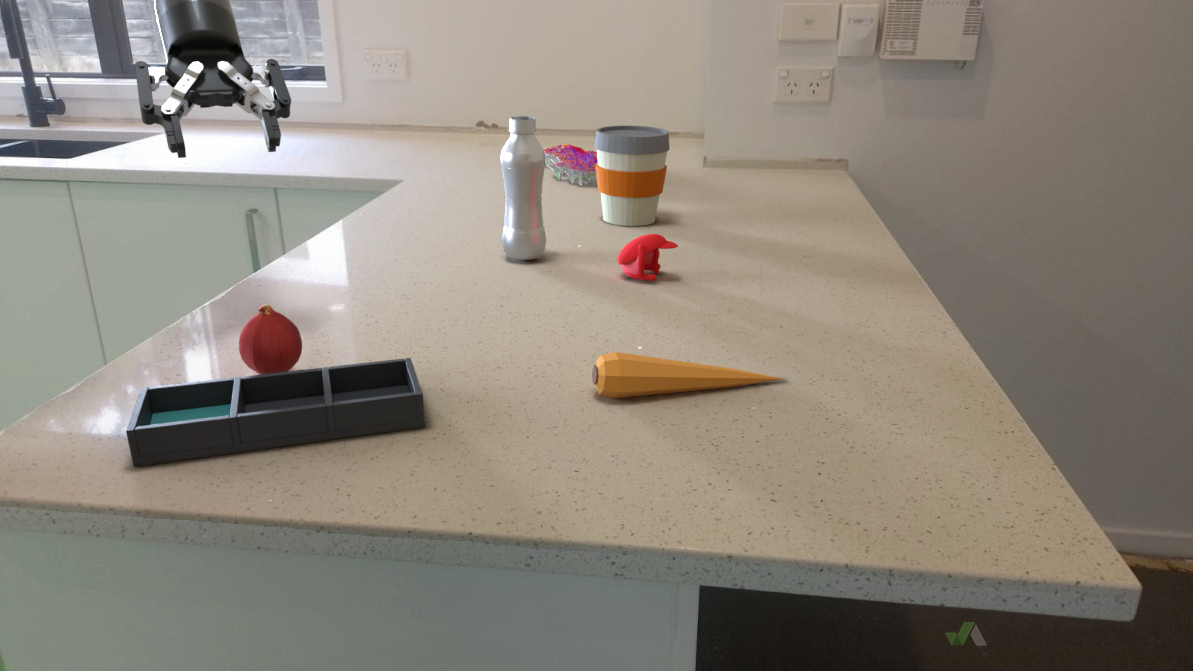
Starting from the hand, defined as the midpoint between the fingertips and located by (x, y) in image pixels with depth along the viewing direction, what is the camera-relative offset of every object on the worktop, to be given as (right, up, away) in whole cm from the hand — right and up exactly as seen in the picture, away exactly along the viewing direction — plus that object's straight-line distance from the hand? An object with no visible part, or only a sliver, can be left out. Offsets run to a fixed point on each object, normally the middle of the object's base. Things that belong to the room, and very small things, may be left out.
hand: (228, 150), depth 85 cm
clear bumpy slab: (+34, +16, +96) cm, 103 cm away
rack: (+9, -27, -10) cm, 30 cm away
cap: (+44, -11, +31) cm, 55 cm away
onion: (+5, -23, -1) cm, 24 cm away
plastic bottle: (+27, -7, +38) cm, 47 cm away
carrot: (+47, -24, -1) cm, 53 cm away
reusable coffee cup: (+43, +1, +60) cm, 74 cm away
